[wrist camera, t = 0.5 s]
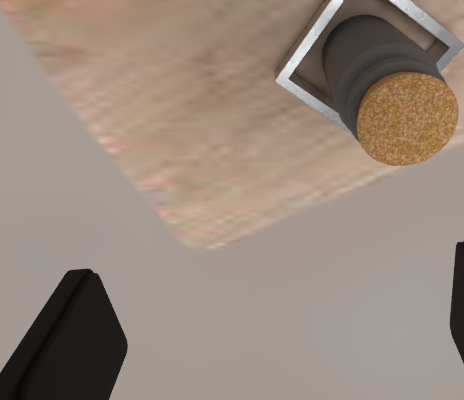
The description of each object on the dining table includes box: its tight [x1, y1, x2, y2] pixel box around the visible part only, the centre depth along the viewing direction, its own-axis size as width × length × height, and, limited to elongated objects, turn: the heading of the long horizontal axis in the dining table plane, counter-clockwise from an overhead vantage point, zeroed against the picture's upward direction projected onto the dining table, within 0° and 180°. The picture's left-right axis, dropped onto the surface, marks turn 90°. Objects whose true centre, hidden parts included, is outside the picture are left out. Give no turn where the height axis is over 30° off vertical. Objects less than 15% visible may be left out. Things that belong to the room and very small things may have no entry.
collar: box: [275, 0, 464, 134], centre depth 32 cm, size 9×9×3 cm
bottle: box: [322, 15, 458, 166], centre depth 27 cm, size 6×6×15 cm
